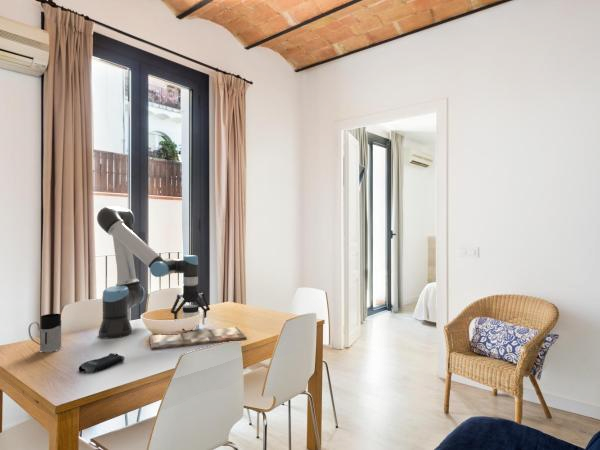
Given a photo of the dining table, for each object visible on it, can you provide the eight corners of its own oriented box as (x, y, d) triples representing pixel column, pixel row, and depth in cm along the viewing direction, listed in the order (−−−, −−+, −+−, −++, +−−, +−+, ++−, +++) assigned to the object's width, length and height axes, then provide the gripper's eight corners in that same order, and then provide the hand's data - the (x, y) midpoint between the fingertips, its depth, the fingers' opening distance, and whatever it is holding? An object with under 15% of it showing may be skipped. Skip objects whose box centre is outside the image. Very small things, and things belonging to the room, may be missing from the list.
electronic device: (107, 363, 161) (72, 370, 148) (110, 349, 162) (76, 355, 148) (123, 370, 157) (88, 378, 144) (126, 356, 157) (91, 362, 144)
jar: (191, 332, 202) (191, 308, 202) (178, 330, 206) (178, 307, 206) (202, 327, 211) (202, 305, 211) (189, 326, 214) (189, 304, 214)
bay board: (151, 349, 173) (151, 346, 173) (149, 337, 192) (149, 335, 192) (246, 339, 190) (246, 336, 190) (236, 329, 209) (236, 326, 209)
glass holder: (67, 347, 176) (67, 314, 176) (36, 357, 163) (36, 321, 163) (52, 345, 179) (52, 312, 179) (21, 355, 166) (21, 319, 166)
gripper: (166, 286, 200) (166, 329, 200) (215, 284, 210) (215, 324, 210) (165, 284, 207) (165, 325, 207) (212, 282, 216) (212, 321, 216)
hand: (190, 325), depth 208 cm, fingers open, 12 cm apart
